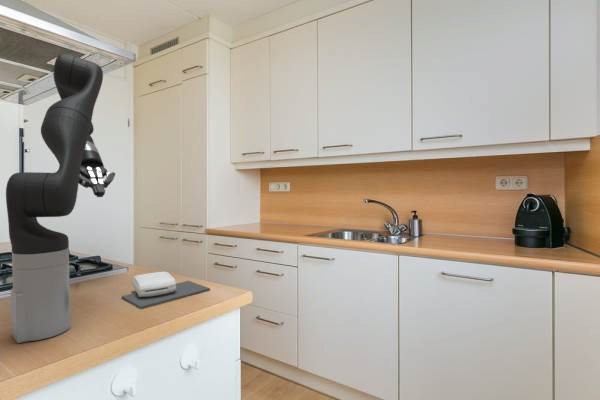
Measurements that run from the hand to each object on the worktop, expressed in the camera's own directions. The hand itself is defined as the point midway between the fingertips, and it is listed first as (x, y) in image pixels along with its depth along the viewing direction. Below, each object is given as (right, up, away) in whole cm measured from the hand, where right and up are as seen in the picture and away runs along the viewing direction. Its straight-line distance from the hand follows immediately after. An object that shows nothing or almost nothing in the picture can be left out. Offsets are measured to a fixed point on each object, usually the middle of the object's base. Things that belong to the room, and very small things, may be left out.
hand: (100, 195), depth 100 cm
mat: (+24, -28, -8) cm, 38 cm away
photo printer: (+17, -25, -2) cm, 30 cm away
